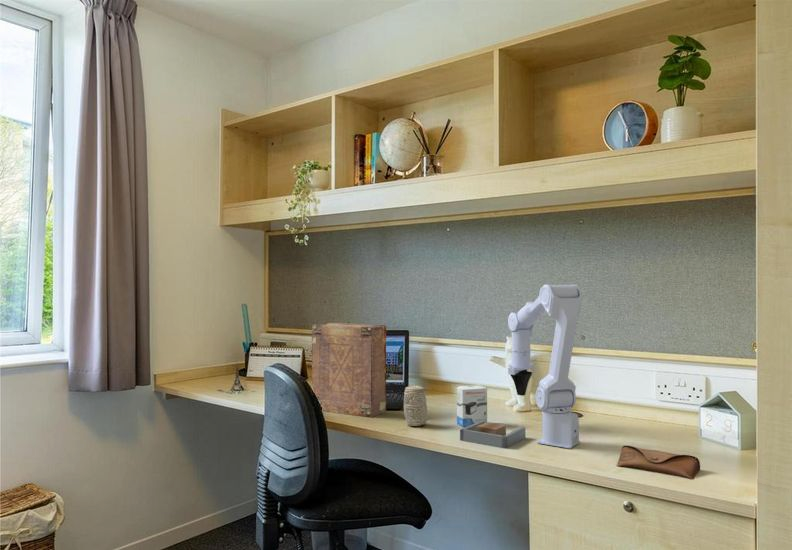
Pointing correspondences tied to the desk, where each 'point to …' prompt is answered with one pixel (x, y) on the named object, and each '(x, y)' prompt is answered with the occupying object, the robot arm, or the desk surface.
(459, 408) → the ink box
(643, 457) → the sunglasses case
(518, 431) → the box
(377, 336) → the book
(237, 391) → the eiffel tower figurine
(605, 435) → the desk surface
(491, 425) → the brown wooden block
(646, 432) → the desk surface
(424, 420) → the carving
